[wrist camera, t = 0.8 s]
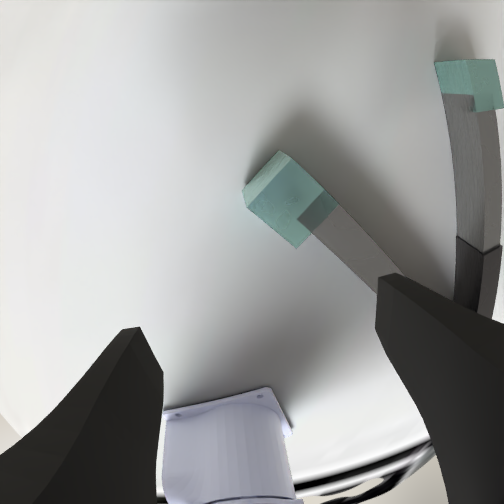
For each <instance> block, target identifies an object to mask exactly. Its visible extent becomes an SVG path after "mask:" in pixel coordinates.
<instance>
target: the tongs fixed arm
mask: <svg viewBox="0 0 504 504" xmlns="http://www.w3.org/2000/svg"><path fill="white" fill-rule="evenodd" d="M434 64H435V68H436V72H437V76H438V80H439V84H440V88H441V93H442V97H443V102H444V107H445V112H446V118H447V123H448V129H449V136H450V142H451V150H452V158H453V167H454V177H455V189H456V206H457V236H456V275H455V291H454V302H455V303H457V304H459V305H461V306H463V307H465V308H467V309H470V310H472V311H474V312H476V313H478V314H481V315H483V316H485V317H487V318H490V319H492V315H493V310H494V305H495V299H496V294H497V287H498V281H499V274H500V266H501V257H502V245H500V236H501V214H502V180H501V159H500V146H499V136H498V127H497V119H496V112H495V109H502V108H504V103H503V97H502V92H501V86H500V81H499V76H498V72H497V67H496V63H495V60H493V59H473V60H454V61H443V62H434Z"/></svg>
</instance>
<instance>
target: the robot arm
mask: <svg viewBox="0 0 504 504" xmlns="http://www.w3.org/2000/svg"><path fill="white" fill-rule="evenodd" d="M375 329H376V332H377V334H378V337H379V339H380V341H381V344H382V346H383V348H384V350H385V353H386V355H387V356H388V358H389V360H390V362H391V363H392V365H393V367H394V368H395V370H396V372H397V374H398V375H399V377H400V379H401V380H402V382H403V384H404V385H405V387H406V389H407V390H408V392H409V394H410V396H411V397H412V399H413V401H414V403H415V404H416V406H417V408H418V410H419V412H420V414H421V416H422V418H423V420H424V423H425V425H426V428H427V431H428V433H429V436H430V438H431V441H432V444H433V447H434V450H435V453H436V456H437V459H438V462H439V465H440V468H441V472H442V476H443V480H444V483H445V487H446V491H447V497H448V502H449V504H504V324H503V323H500V322H497V321H495V320H492V319H490V318H487V317H485V316H483V315H481V314H478V313H476V312H474V311H472V310H470V309H467V308H465V307H463V306H461V305H459V304H457V303H455V302H453V301H451V300H449V299H447V298H445V297H443V296H441V295H440V294H438V293H436V292H434V291H432V290H430V289H428V288H426V287H424V286H422V285H420V284H419V283H417V282H415V281H413V280H411V279H409V278H407V277H405V276H402V275H400V274H398V273H396V272H395V273H392V274H388V275H384V276H380V277H378V289H377V308H376V322H375ZM163 392H164V383H163V371H162V369H161V367H160V365H159V363H158V361H157V360H156V358H155V356H154V354H153V352H152V350H151V348H150V346H149V344H148V342H147V340H146V338H145V336H144V334H143V332H142V330H141V328H140V327H135V328H128V329H122V330H121V331H120V332H119V333H118V334H117V336H116V337H115V338H114V339H113V340H112V341H111V342H110V344H109V345H108V346H107V347H106V349H105V350H104V351H103V352H102V353H101V355H100V356H99V357H98V358H97V360H96V361H95V362H94V363H93V364H92V366H91V367H90V368H89V369H88V371H87V372H86V373H85V374H84V376H83V377H82V378H81V379H80V380H79V381H78V383H77V384H76V385H75V386H74V387H73V388H72V389H71V391H70V392H69V393H68V394H67V395H66V396H65V398H64V399H63V400H62V401H61V402H60V403H59V404H58V405H57V406H56V407H55V408H54V410H53V411H52V412H51V413H50V414H49V415H48V416H47V417H45V418H44V419H43V420H42V421H41V422H40V423H39V424H38V425H37V426H36V427H35V428H34V429H33V430H31V431H30V432H29V433H28V434H27V435H25V436H24V437H23V438H22V439H21V440H19V441H18V442H17V443H16V444H15V445H13V446H12V447H11V448H9V449H8V450H6V451H5V452H4V453H2V454H1V455H0V504H157V496H156V459H157V450H158V441H159V433H160V425H161V417H163V418H164V419H165V420H166V421H167V422H166V431H165V441H164V453H163V466H162V485H163V490H164V494H165V497H166V499H167V502H168V503H169V504H304V502H303V499H296V495H295V490H294V485H293V480H292V475H291V471H290V466H289V461H288V456H287V451H286V446H285V441H284V438H286V437H289V436H291V435H292V434H293V433H292V429H291V427H290V425H289V423H288V421H287V419H286V417H285V415H284V413H283V411H282V409H281V407H280V405H279V403H278V401H277V399H276V397H275V395H274V393H273V391H272V389H271V388H268V387H265V388H261V389H258V390H254V391H250V392H247V393H243V394H239V395H235V396H231V397H227V398H223V399H219V400H214V401H210V402H206V403H201V404H196V405H192V406H187V407H182V408H177V409H171V410H166V411H163V413H162V409H163ZM260 394H261V395H260Z"/></svg>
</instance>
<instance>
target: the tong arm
mask: <svg viewBox="0 0 504 504" xmlns="http://www.w3.org/2000/svg"><path fill="white" fill-rule="evenodd" d="M242 192H243V196H244V199H245V203H246V206H247V208H248V209H249V210H251V211H252V212H253V213H254V214H255V215H257V216H258V217H259V218H260V219H262V220H263V221H264V222H265V223H266V224H268V225H269V226H270V227H271V228H272V229H274V230H275V231H276V232H277V233H278V234H280V235H281V236H282V237H283V238H284V239H286V240H287V241H288V242H289V243H290V244H291V245H293V246H294V247H295V248H296V249H297V247H298V246H299V245H300V244H301V243H302V242H303V241H304V240H305V239H306V238H307V237H308V236H309V235H310V234H311V233H312V234H313V235H315V236H316V237H317V238H318V239H319V240H320V241H321V242H322V243H323V244H324V245H326V246H327V247H328V248H329V249H330V250H331V251H332V252H333V253H334V254H335V255H336V256H337V257H338V258H340V259H341V260H342V261H343V262H344V263H345V264H346V265H347V266H348V267H349V268H350V269H351V270H352V271H353V272H354V273H356V274H357V275H358V276H359V277H360V278H361V279H362V280H363V281H364V282H365V283H366V284H367V285H368V286H369V287H370V288H371V289H372V290H373V291H374V292H375V293H376V294H377V289H378V277H380V276H384V275H388V274H392V273H395V272H396V273H398V274H400V275H402V276H405V275H404V274H403V273H402V272H401V271H400V269H399V268H398V267H397V266H396V265H395V264H394V263H393V261H392V260H391V259H390V258H389V257H388V256H387V255H386V254H385V252H384V251H383V250H382V249H381V248H380V247H379V246H378V245H377V244H376V242H375V241H374V240H373V239H372V238H371V237H370V236H369V235H368V234H367V233H366V232H365V231H364V229H363V228H362V227H361V226H360V225H359V224H358V223H357V222H356V221H355V220H354V219H353V218H352V217H351V216H350V215H349V214H348V213H347V212H346V211H345V210H344V208H343V207H342V206H341V205H340V204H339V203H338V202H337V201H336V200H335V199H334V198H333V197H332V196H331V195H330V194H329V193H328V192H327V191H326V190H325V189H324V188H323V187H322V186H321V185H320V184H319V183H318V182H316V181H315V180H314V179H313V178H312V177H311V176H310V175H309V174H308V173H307V172H306V171H305V170H304V169H303V168H302V167H301V166H300V165H299V164H298V163H297V162H295V161H294V160H293V159H292V158H291V157H289V156H288V155H286V154H285V153H283V152H281V151H280V150H278V152H277V153H276V154H275V155H274V156H273V157H272V158H271V159H270V160H269V161H268V162H267V163H266V164H265V166H264V167H263V168H262V169H261V170H260V171H259V172H258V173H257V174H256V175H255V177H254V178H253V179H252V180H251V181H250V182H249V183H248V184H247V185H246V187H245V188H244V189H243V190H242ZM405 277H406V276H405Z"/></svg>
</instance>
